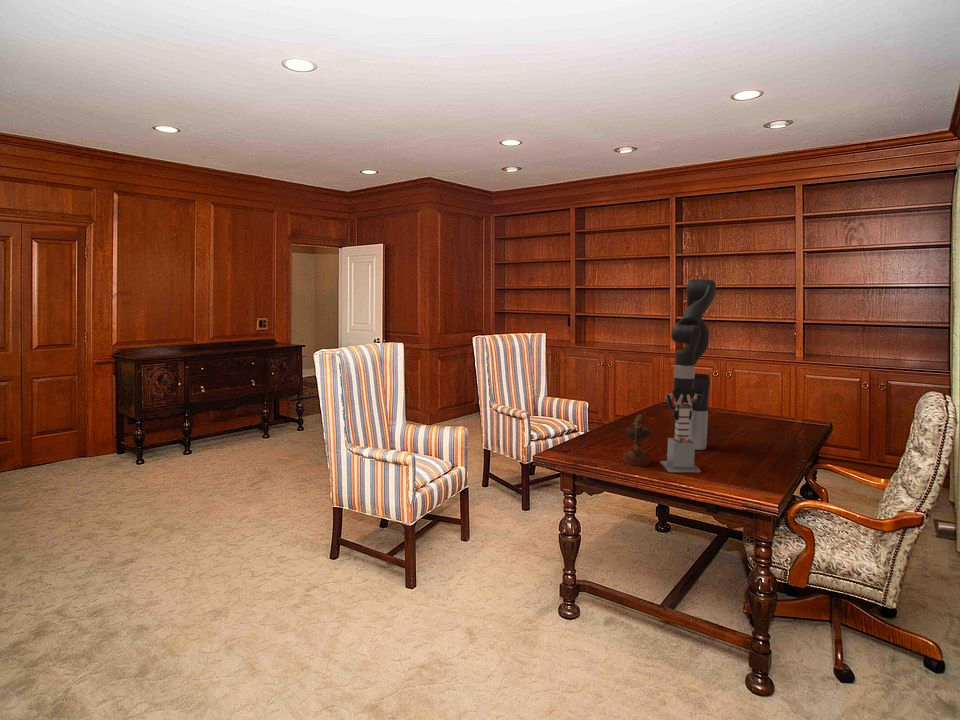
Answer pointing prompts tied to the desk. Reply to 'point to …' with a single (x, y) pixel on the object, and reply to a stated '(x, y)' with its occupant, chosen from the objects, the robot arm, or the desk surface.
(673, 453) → the stand
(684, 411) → the column
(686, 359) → the robot arm
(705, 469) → the desk surface
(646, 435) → the brown piece
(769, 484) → the desk surface
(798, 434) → the desk surface
